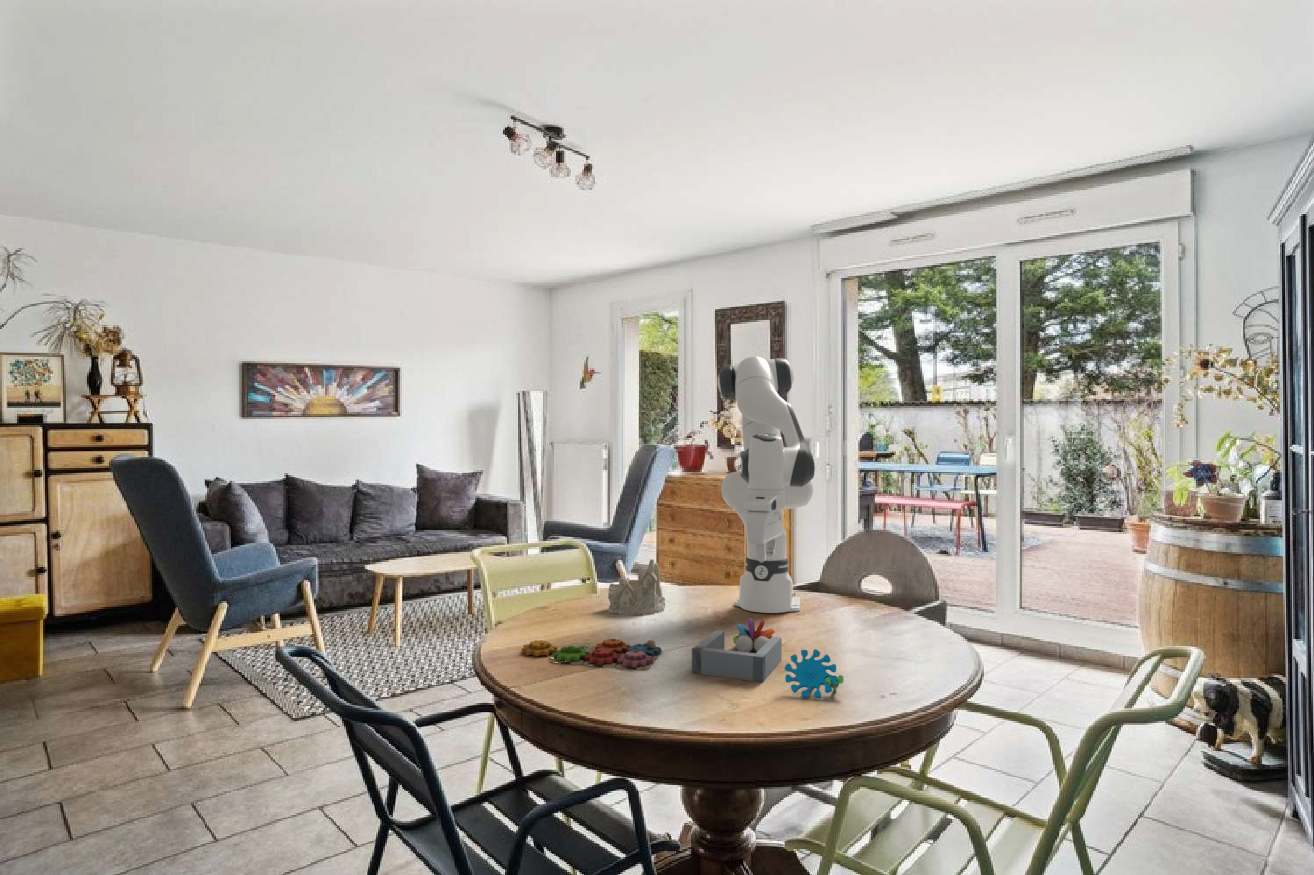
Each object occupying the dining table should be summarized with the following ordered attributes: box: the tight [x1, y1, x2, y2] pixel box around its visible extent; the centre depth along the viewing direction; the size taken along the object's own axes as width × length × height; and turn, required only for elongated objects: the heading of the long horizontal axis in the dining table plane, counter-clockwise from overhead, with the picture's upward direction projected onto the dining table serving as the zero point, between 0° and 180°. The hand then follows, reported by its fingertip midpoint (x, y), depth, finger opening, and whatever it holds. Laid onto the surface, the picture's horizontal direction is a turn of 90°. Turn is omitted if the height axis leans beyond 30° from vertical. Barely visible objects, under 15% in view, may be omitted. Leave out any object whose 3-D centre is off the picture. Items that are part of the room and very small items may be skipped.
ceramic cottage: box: [607, 558, 666, 616], centre depth 217 cm, size 16×16×15 cm
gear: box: [784, 648, 844, 699], centre depth 148 cm, size 11×6×10 cm
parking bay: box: [691, 630, 783, 683], centre depth 163 cm, size 16×15×5 cm
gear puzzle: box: [521, 638, 663, 671], centre depth 171 cm, size 31×16×4 cm, turn 77°
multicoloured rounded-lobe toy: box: [732, 618, 776, 653], centre depth 176 cm, size 8×10×7 cm
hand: (766, 558), depth 185 cm, fingers open, 7 cm apart
